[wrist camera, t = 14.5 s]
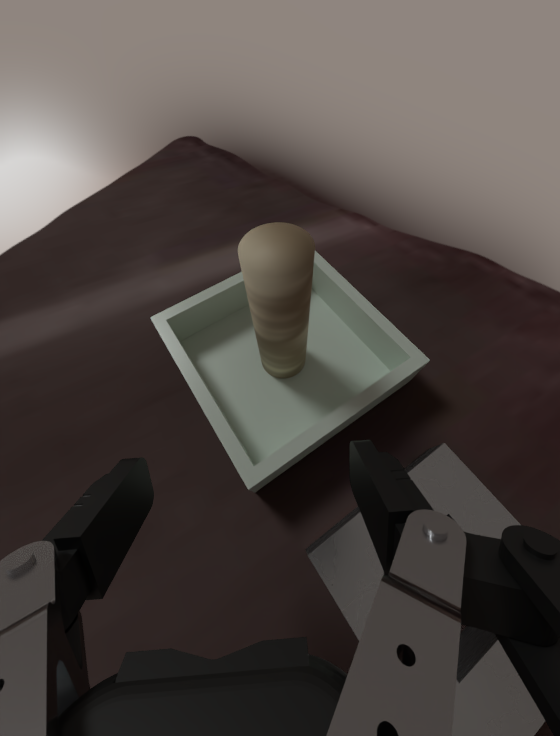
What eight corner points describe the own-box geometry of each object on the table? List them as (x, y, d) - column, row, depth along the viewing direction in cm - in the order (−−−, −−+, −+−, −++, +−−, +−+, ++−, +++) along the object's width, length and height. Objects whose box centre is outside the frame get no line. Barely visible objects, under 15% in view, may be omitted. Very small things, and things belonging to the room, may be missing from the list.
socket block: (440, 773, 15) (467, 822, 12) (305, 549, 19) (307, 555, 17) (574, 612, 17) (616, 627, 15) (428, 449, 22) (444, 442, 20)
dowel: (277, 386, 24) (264, 289, 13) (253, 353, 26) (224, 242, 15) (314, 362, 25) (330, 253, 14) (288, 332, 26) (285, 212, 16)
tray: (255, 492, 21) (248, 489, 17) (168, 342, 27) (150, 317, 23) (409, 381, 25) (430, 360, 21) (302, 271, 31) (304, 240, 27)
